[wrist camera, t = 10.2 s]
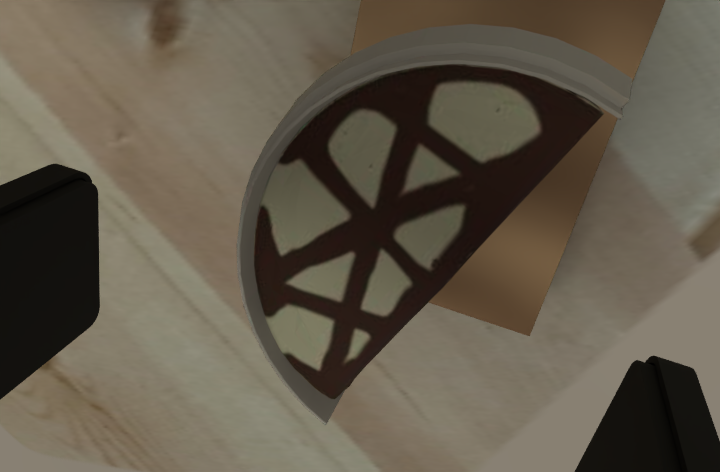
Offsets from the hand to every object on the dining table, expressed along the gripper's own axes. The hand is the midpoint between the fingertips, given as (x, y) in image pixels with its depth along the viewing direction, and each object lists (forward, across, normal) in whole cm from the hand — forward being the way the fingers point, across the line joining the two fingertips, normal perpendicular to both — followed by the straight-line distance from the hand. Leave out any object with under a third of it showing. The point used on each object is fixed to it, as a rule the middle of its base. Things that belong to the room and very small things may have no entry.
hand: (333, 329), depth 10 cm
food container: (+15, +1, +1) cm, 15 cm away
